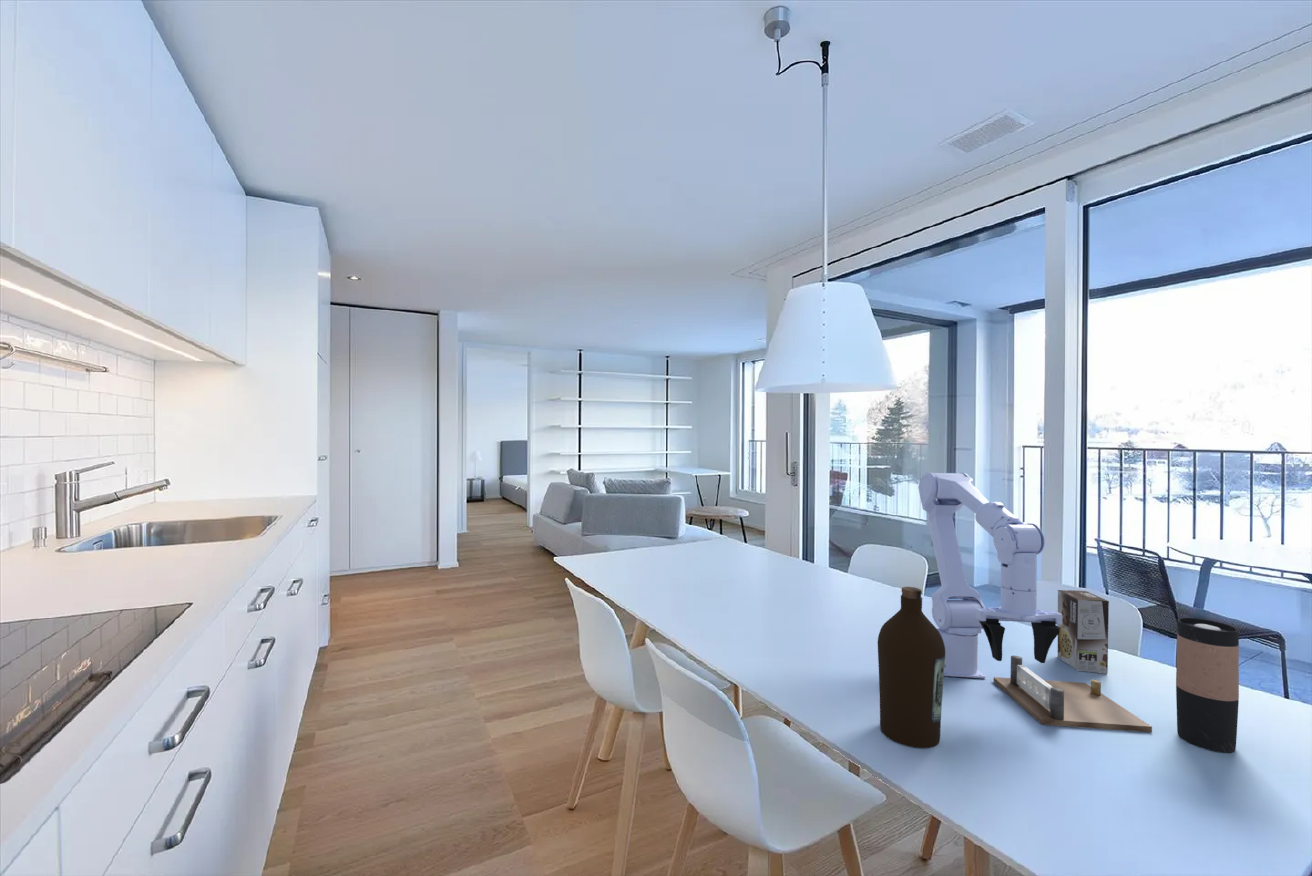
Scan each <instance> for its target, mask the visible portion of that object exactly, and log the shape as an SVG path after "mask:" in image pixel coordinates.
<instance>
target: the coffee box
mask: <svg viewBox="0 0 1312 876" xmlns="http://www.w3.org/2000/svg"><path fill="white" fill-rule="evenodd" d="M1109 606H1110V601H1109V600H1108V599H1105V598H1102V597H1100V596H1098V595H1096V594H1095V593H1092V592H1089V591H1086V590H1072V589H1071V590H1070V589H1068V590H1065V589H1064V590H1063V589H1062V590H1061V589H1057V612H1058V613H1060V614H1062V625H1061V624H1057V626H1058V627H1060V633H1059V634H1058V635H1057V658H1059V659H1060V660H1062V661H1063V662H1064V663H1066V664H1067V665H1068V666H1069V667H1071V668H1073V670H1075V671H1077V672H1083V673H1084V672H1087V673H1094V674H1096V673H1097V674H1105V675H1106V674H1108V671H1109V670H1108V667H1109V665H1108V664H1109V618H1110V617H1109V615H1110V613H1109V611H1110V610H1109Z"/></svg>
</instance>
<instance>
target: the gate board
mask: <svg viewBox="0 0 1312 876" xmlns="http://www.w3.org/2000/svg"><path fill="white" fill-rule="evenodd" d="M1017 665H1023V657H1021V656H1019V655H1010V677H999V676H998V677H997V676H994V677H993V683H994V682H995V683H994V684H995V685H996V686H997V687H999V688H1000V689H1001V690H1002V691H1003V690H1004V691H1003V692H1004V693H1006V694H1007V695H1008V696H1009V697H1010V698H1011V697H1012V698H1013V701H1014V702H1016V703H1017V704H1018V705H1019V706H1020V707H1022V708H1023V710H1025V711H1026V712H1027V713H1028V714H1030V716H1032V718H1034V719H1035V720H1036V721H1038V722H1039V723H1040V724H1041V725H1042V726H1043V725H1044V726H1057V727H1071V728H1085V729H1097V730H1098V729H1099V730H1111V731H1113V730H1114V731H1130V732H1138V733H1139V732H1142V733H1153V726H1152V725H1150V724H1149V723H1147V721H1144V720H1143V719H1141V718H1140V717H1139V716H1136V715H1135V714H1134V713H1132V712H1131V711H1129V710H1128V709H1126V708H1124V707H1123V706H1121V705H1120V704H1118V703H1117V702H1115V701H1114V700H1112V699H1111V698H1110V697H1108V696H1106V695H1105V694H1103V693H1102V692H1101V691H1102V682H1101V681H1100V680H1097V679H1090V684H1088V683H1086V682H1082V681H1081V682H1080V681H1078V682H1076V681H1065V680H1064V681H1062V680H1047V679H1045V680H1044V679H1043V680H1044V681H1045V682H1047V683H1048V684H1050V685H1051V686H1052V688H1051V694H1050V710H1049V709H1047V708H1046V707H1045V706H1044V705H1042V704H1041V703H1040V702H1039V701H1038V700H1036V699H1035V698H1034V697H1033V696H1031V695H1030V694H1029V693H1028V692H1027V691H1025V690H1024V689H1023V688H1022V687H1020V686H1019V685H1018V684H1017ZM1012 698H1011V699H1012Z"/></svg>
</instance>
